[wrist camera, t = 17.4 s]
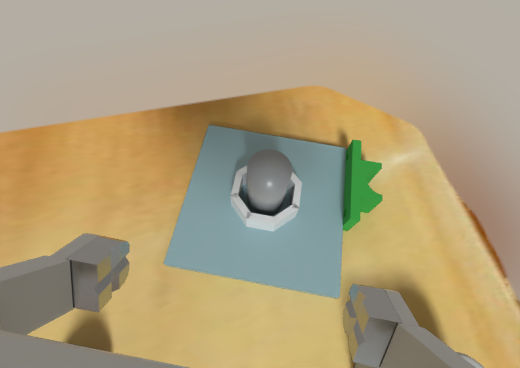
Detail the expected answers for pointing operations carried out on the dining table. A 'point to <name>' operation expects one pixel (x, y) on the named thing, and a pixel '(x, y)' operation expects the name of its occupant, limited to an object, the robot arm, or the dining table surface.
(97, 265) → the robot arm
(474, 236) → the dining table surface
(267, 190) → the gray domed peg
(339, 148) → the duct base
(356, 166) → the pipe clamp
